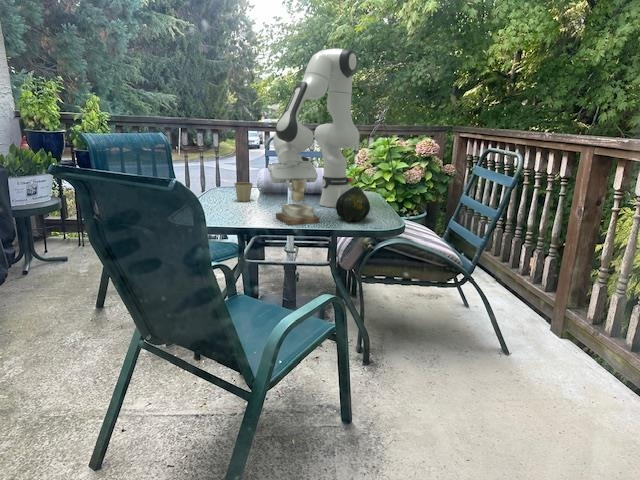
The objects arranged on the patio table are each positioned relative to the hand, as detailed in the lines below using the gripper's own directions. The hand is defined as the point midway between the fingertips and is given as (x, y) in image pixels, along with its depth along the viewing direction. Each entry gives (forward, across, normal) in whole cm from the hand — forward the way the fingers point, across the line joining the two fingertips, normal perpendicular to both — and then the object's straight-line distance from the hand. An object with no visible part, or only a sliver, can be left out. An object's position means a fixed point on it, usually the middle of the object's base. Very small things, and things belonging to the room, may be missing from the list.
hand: (298, 189), depth 184 cm
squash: (+13, +23, +6) cm, 27 cm away
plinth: (+9, 0, +10) cm, 13 cm away
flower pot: (-25, -9, +44) cm, 51 cm away
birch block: (+3, 0, +4) cm, 4 cm away
